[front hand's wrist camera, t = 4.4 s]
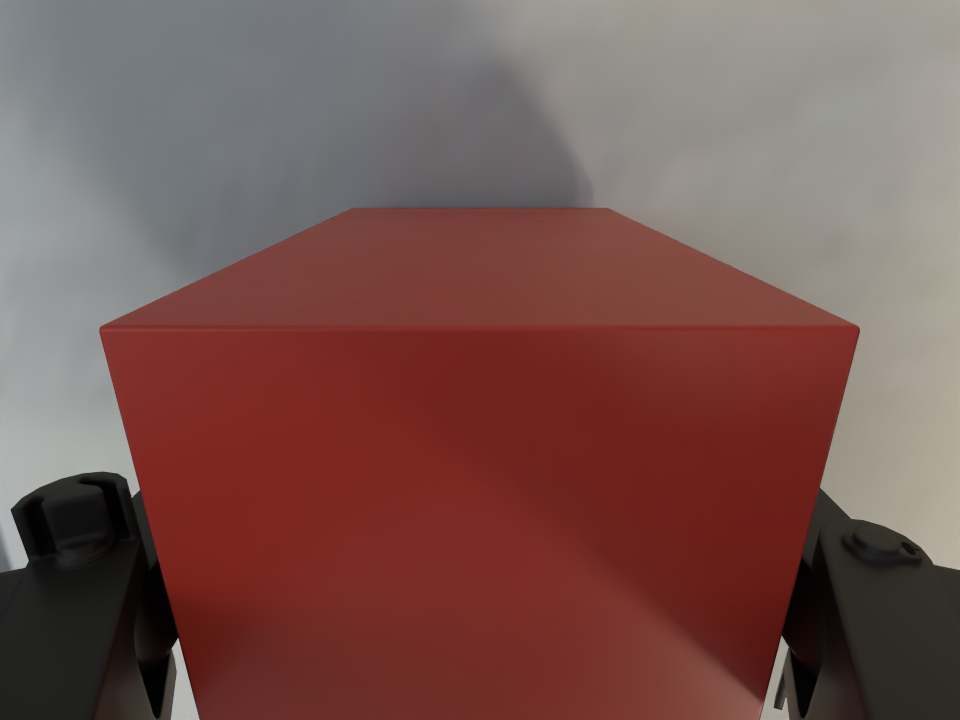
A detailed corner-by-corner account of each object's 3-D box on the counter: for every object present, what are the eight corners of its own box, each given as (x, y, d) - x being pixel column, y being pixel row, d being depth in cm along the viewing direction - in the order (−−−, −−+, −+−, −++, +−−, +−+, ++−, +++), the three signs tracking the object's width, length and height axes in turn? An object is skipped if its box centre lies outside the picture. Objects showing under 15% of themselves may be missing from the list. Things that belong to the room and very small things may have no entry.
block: (608, 207, 16) (863, 326, 5) (587, 468, 19) (722, 870, 8) (351, 207, 16) (94, 326, 5) (372, 468, 19) (237, 871, 8)
